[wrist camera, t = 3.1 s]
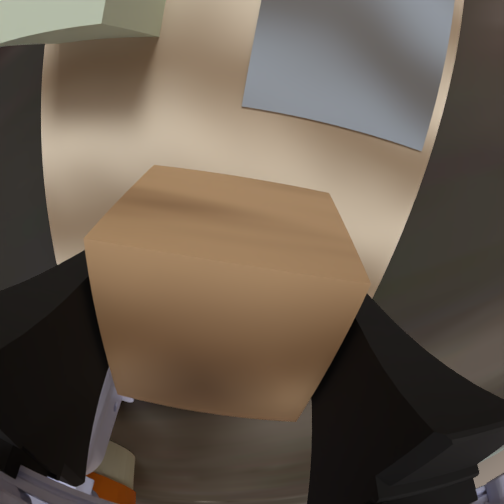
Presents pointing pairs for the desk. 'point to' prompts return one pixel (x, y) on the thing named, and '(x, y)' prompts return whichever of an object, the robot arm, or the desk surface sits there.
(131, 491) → the reusable coffee cup
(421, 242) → the desk surface
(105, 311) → the oak block
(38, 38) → the sage block
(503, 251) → the desk surface
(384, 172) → the baseplate
